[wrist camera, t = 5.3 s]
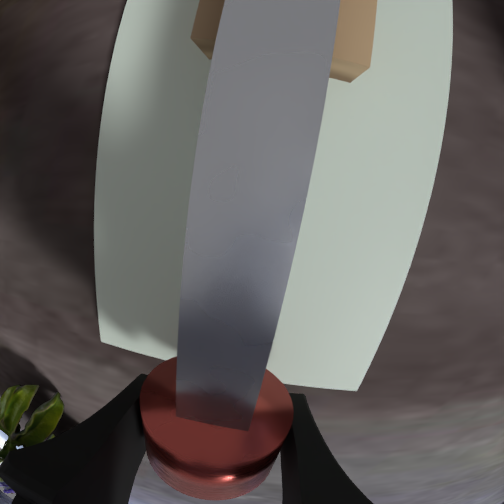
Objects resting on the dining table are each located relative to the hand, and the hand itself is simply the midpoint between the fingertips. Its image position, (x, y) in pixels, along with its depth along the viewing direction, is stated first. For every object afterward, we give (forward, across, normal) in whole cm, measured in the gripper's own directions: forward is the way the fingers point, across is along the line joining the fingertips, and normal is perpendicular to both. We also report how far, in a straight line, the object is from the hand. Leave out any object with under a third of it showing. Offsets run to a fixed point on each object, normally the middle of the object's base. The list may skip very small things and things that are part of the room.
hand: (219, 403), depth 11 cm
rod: (+1, -1, -9) cm, 9 cm away
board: (+3, -1, -13) cm, 13 cm away
